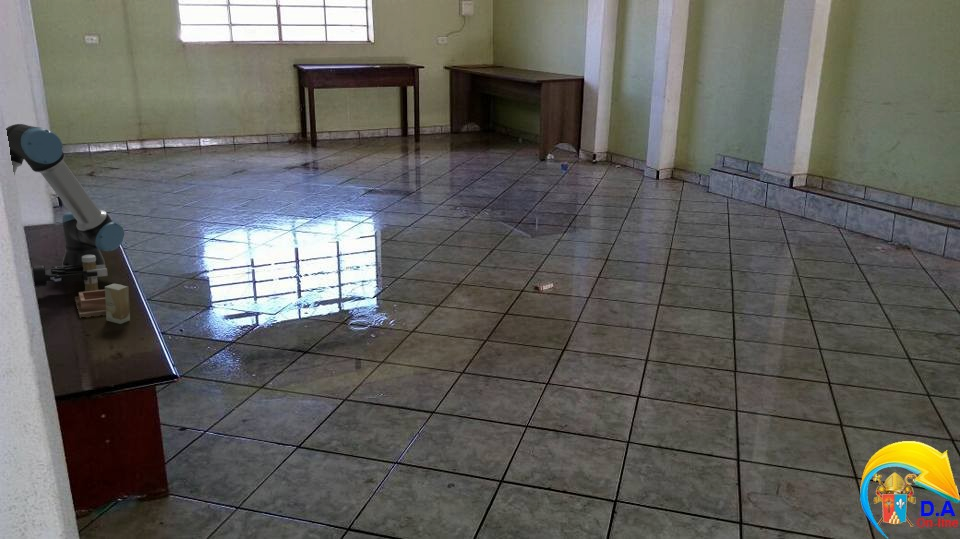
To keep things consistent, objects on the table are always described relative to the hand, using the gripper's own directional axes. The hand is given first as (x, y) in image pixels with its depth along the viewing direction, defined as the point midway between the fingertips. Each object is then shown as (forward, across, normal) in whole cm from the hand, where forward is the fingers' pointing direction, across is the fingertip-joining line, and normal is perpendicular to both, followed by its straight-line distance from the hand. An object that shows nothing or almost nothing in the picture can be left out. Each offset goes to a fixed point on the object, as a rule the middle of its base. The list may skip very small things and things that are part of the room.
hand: (106, 270), depth 273 cm
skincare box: (-1, +34, -8) cm, 34 cm away
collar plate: (-6, +18, -8) cm, 20 cm away
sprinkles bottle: (-5, 0, -8) cm, 9 cm away
